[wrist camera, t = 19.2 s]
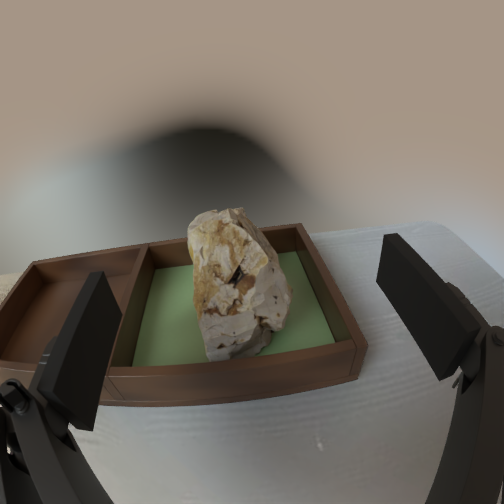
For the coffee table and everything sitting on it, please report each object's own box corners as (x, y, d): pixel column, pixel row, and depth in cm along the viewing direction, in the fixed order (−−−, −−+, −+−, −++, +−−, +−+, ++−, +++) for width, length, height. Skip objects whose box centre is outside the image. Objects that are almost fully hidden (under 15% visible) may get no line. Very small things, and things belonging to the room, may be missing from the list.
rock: (309, 365, 17) (277, 200, 15) (207, 383, 17) (155, 230, 15) (290, 294, 29) (268, 193, 26) (225, 308, 29) (199, 210, 27)
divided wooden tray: (301, 254, 32) (301, 222, 30) (357, 379, 18) (368, 345, 16) (44, 286, 30) (32, 261, 28) (-11, 388, 16) (-34, 361, 14)
